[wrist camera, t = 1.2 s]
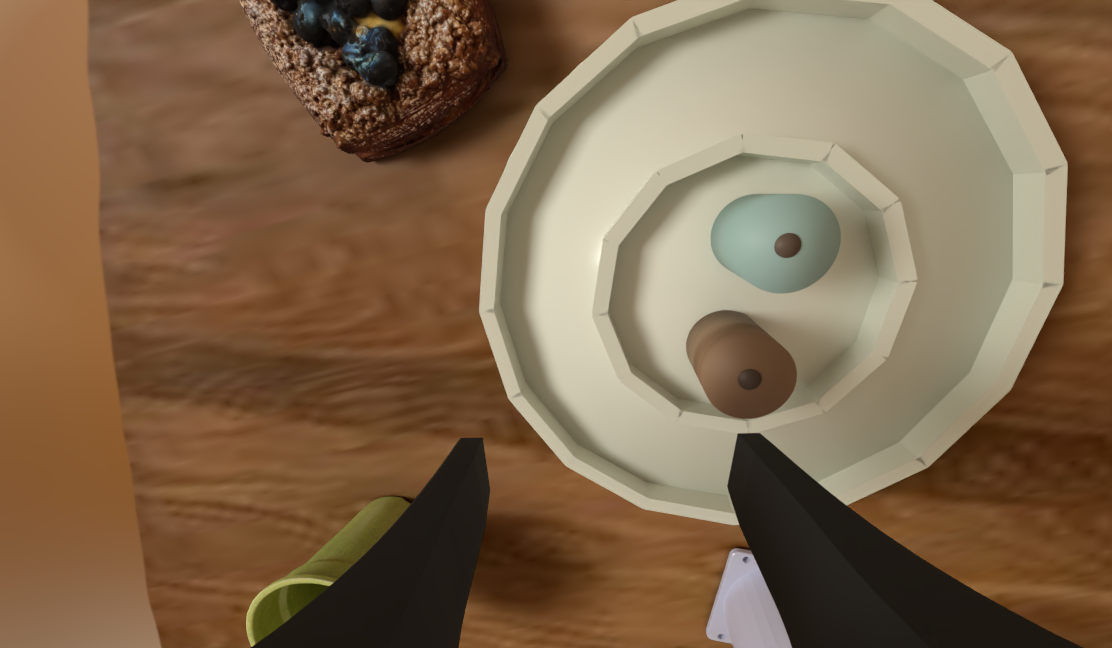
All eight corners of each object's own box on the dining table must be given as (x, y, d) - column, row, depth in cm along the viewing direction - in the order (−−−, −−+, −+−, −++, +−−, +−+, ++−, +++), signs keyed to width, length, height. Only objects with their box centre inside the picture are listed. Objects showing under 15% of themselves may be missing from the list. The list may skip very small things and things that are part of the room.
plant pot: (316, 493, 31) (212, 601, 23) (425, 458, 29) (352, 563, 21) (378, 588, 33) (303, 719, 25) (483, 562, 31) (438, 695, 23)
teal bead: (803, 199, 21) (856, 200, 16) (780, 279, 22) (823, 300, 18) (720, 189, 21) (750, 187, 17) (702, 268, 22) (725, 286, 18)
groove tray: (1139, 19, 18) (1220, -8, 16) (901, 532, 26) (931, 566, 24) (507, -34, 20) (493, -65, 18) (474, 458, 29) (461, 481, 26)
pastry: (373, 187, 24) (303, 185, 19) (239, -26, 22) (113, -101, 16) (536, 76, 22) (512, 36, 16) (405, -180, 19) (323, -334, 14)
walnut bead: (770, 315, 22) (809, 345, 18) (751, 383, 24) (783, 425, 19) (694, 305, 23) (715, 331, 18) (679, 372, 24) (695, 411, 20)
